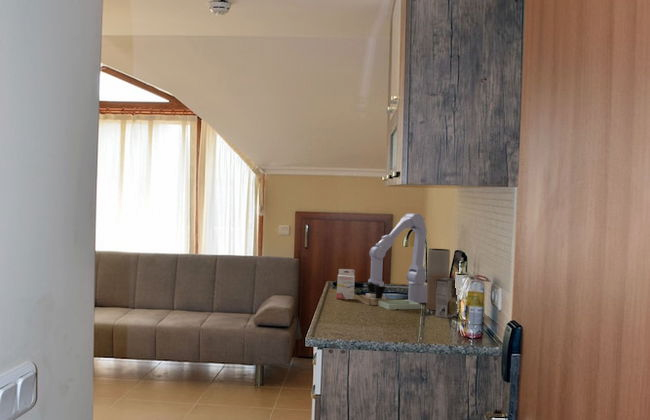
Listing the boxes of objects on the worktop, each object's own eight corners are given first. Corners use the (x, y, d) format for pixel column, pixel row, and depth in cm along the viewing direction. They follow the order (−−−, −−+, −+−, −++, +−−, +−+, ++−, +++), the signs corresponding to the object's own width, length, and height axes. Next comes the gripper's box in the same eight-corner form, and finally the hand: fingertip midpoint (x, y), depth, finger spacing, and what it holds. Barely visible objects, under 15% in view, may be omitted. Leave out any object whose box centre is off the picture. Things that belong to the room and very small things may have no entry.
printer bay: (376, 300, 313) (376, 294, 313) (387, 304, 300) (387, 298, 300) (358, 301, 310) (359, 294, 310) (369, 305, 297) (369, 298, 297)
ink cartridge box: (336, 299, 314) (337, 269, 314) (337, 297, 319) (338, 268, 319) (353, 299, 313) (354, 270, 313) (354, 298, 318) (355, 269, 318)
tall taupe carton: (451, 310, 289) (453, 250, 289) (431, 311, 286) (433, 249, 286) (442, 307, 298) (444, 248, 298) (422, 307, 296) (424, 248, 296)
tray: (408, 305, 302) (409, 300, 302) (420, 309, 291) (420, 304, 291) (378, 305, 297) (378, 300, 297) (388, 309, 286) (388, 304, 286)
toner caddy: (380, 302, 309) (381, 292, 309) (385, 304, 304) (385, 293, 304) (365, 302, 306) (366, 292, 306) (369, 304, 302) (370, 293, 302)
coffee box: (446, 314, 279) (448, 277, 279) (459, 316, 275) (460, 279, 275) (434, 316, 273) (435, 278, 273) (447, 318, 268) (448, 280, 268)
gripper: (363, 269, 311) (362, 297, 311) (374, 273, 297) (373, 301, 297) (376, 270, 313) (375, 297, 313) (388, 273, 299) (387, 301, 299)
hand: (375, 299), depth 305 cm, fingers open, 7 cm apart
